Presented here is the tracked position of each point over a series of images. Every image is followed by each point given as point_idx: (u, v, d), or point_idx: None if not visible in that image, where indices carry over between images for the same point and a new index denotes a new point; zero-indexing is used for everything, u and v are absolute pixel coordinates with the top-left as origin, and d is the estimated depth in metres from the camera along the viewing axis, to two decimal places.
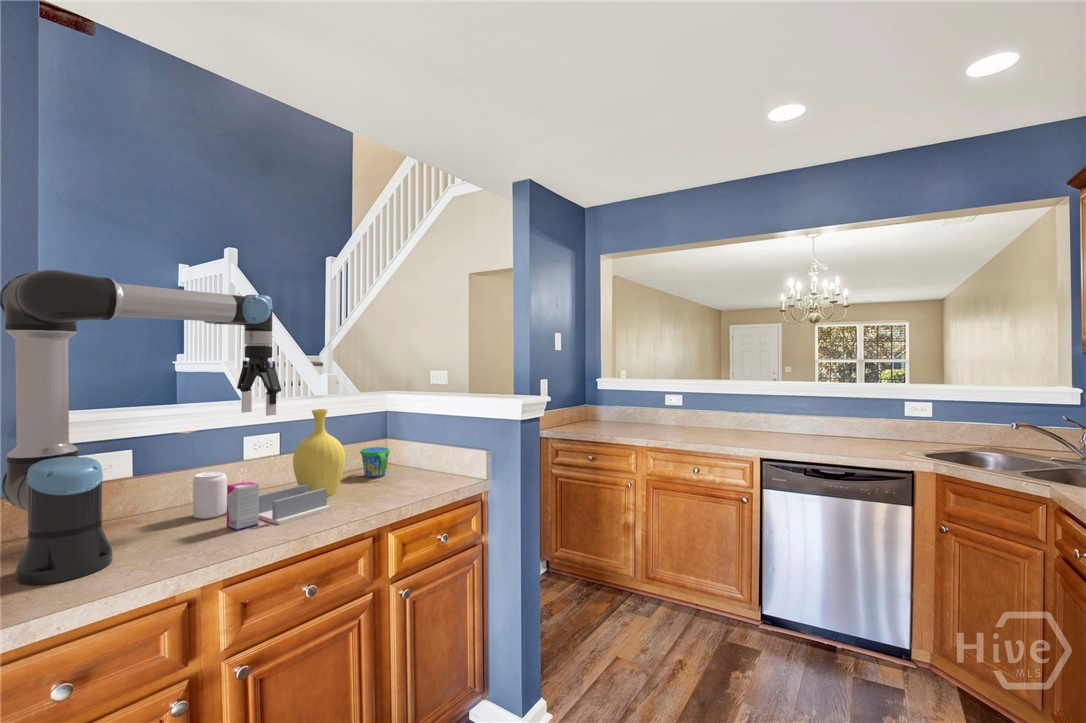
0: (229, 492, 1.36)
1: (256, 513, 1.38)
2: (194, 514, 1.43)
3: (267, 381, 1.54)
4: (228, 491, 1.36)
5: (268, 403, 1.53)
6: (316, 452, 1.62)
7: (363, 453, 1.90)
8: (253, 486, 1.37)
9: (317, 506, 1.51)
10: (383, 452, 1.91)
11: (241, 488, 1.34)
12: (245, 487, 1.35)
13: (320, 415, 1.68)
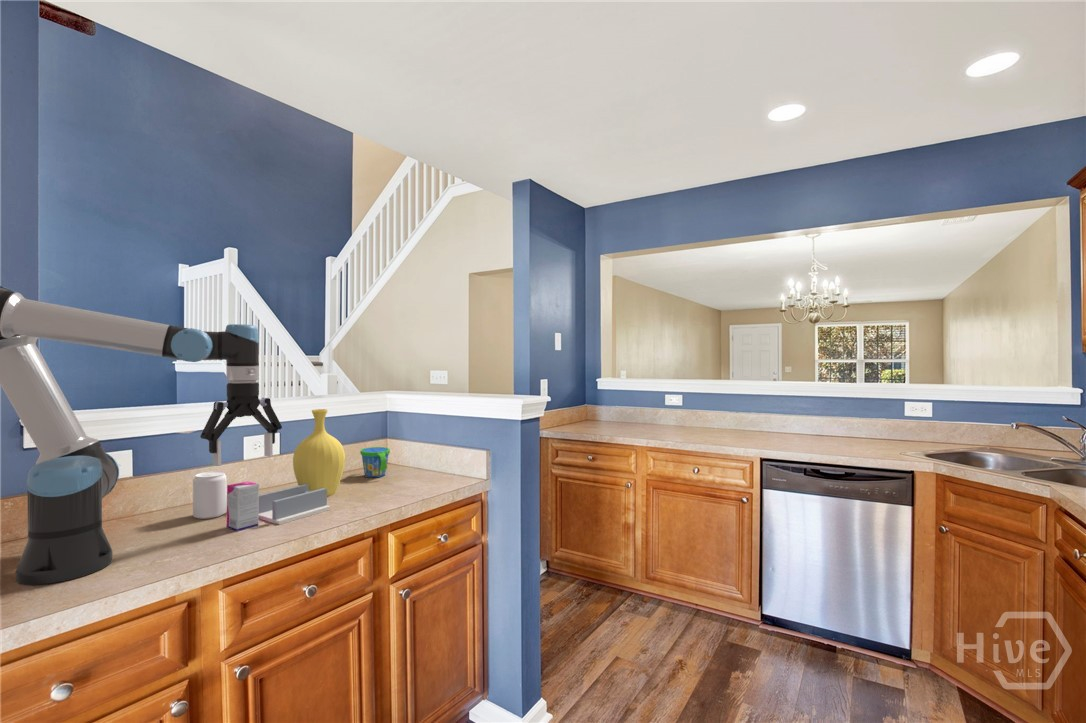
0: (229, 492, 1.36)
1: (256, 513, 1.38)
2: (194, 514, 1.43)
3: (218, 425, 1.32)
4: (228, 491, 1.36)
5: None
6: (316, 452, 1.62)
7: (363, 453, 1.90)
8: (253, 486, 1.37)
9: (317, 506, 1.51)
10: (383, 452, 1.91)
11: (241, 488, 1.34)
12: (245, 487, 1.35)
13: (320, 415, 1.68)
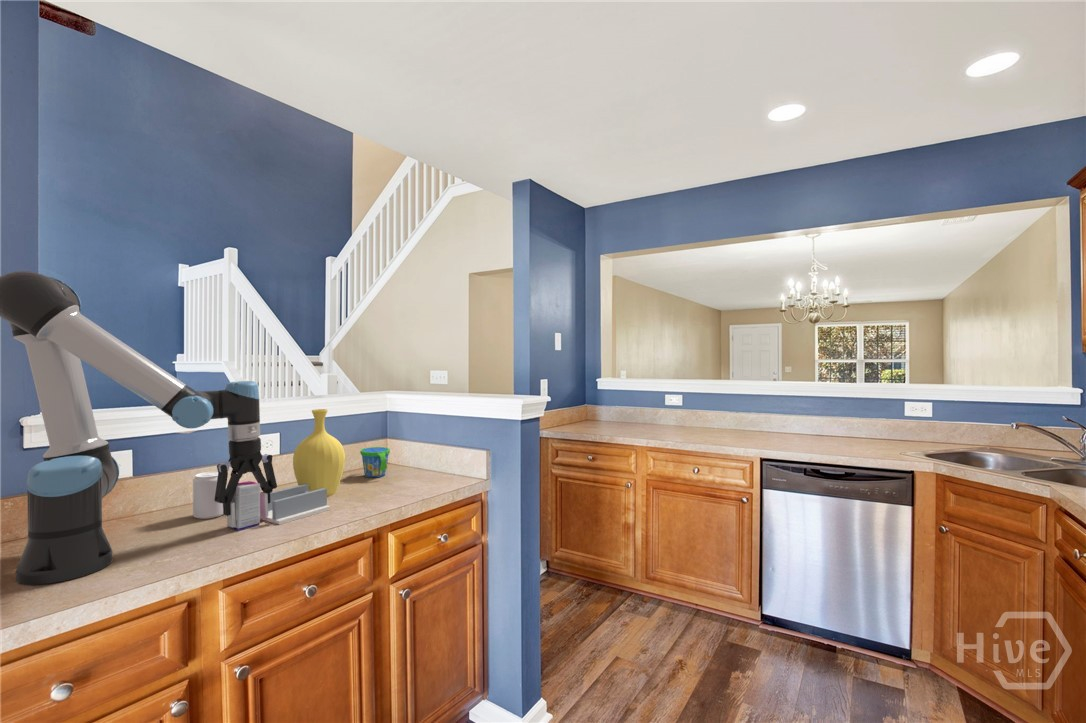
0: None
1: (257, 512, 1.38)
2: (194, 514, 1.43)
3: (228, 486, 1.34)
4: None
5: None
6: (316, 452, 1.62)
7: (363, 453, 1.90)
8: (254, 486, 1.37)
9: (317, 506, 1.51)
10: (383, 452, 1.91)
11: (243, 487, 1.35)
12: (246, 487, 1.35)
13: (320, 415, 1.68)
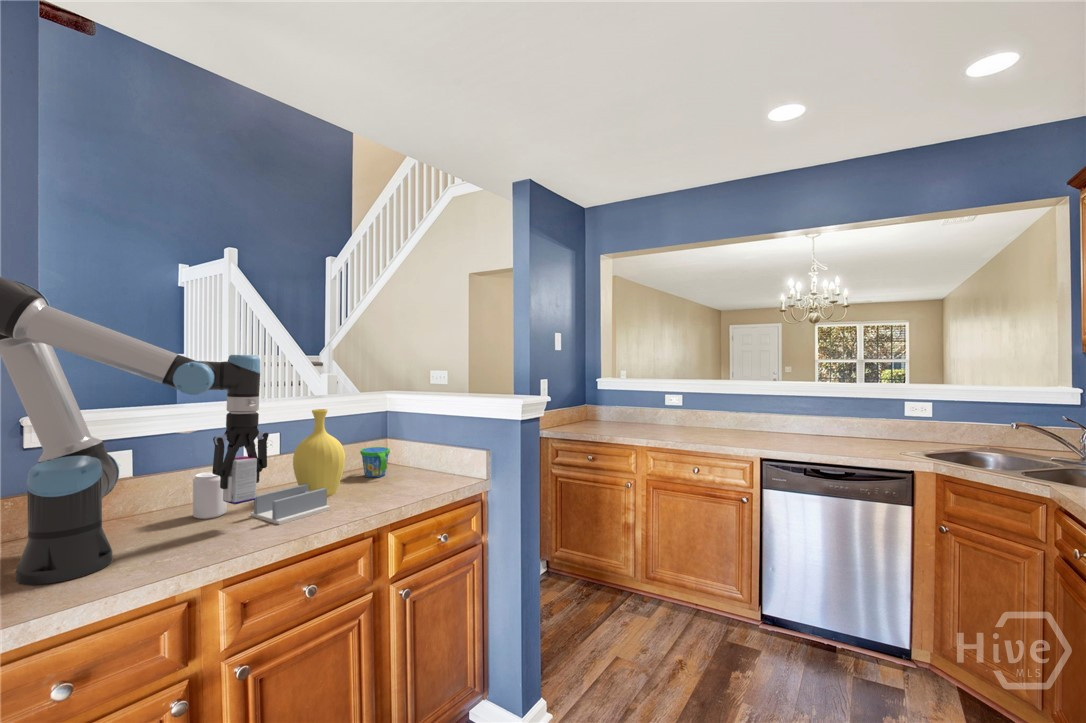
0: None
1: (253, 487, 1.37)
2: (194, 514, 1.43)
3: (225, 459, 1.34)
4: None
5: None
6: (316, 452, 1.62)
7: (363, 453, 1.90)
8: (251, 460, 1.37)
9: (317, 506, 1.51)
10: (383, 452, 1.91)
11: (239, 461, 1.34)
12: (243, 461, 1.35)
13: (321, 415, 1.68)
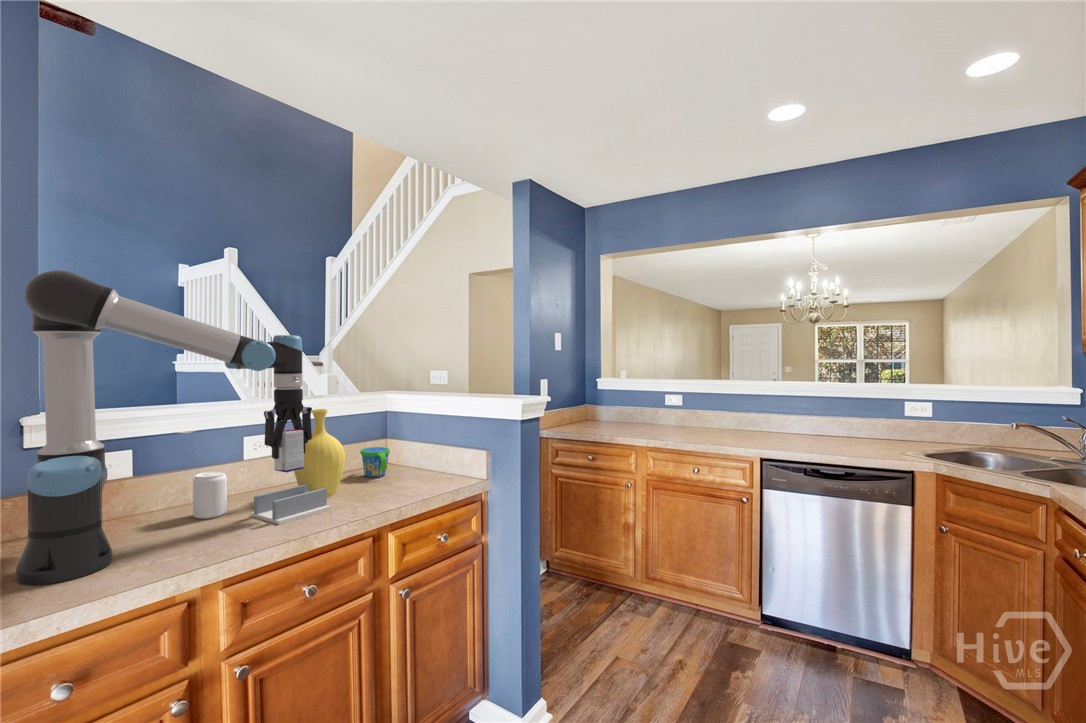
0: None
1: (301, 457, 1.49)
2: (194, 514, 1.43)
3: (275, 432, 1.45)
4: None
5: None
6: (316, 452, 1.62)
7: (363, 453, 1.90)
8: (298, 432, 1.48)
9: (317, 506, 1.51)
10: (383, 452, 1.91)
11: (288, 433, 1.45)
12: (291, 432, 1.46)
13: (321, 415, 1.68)
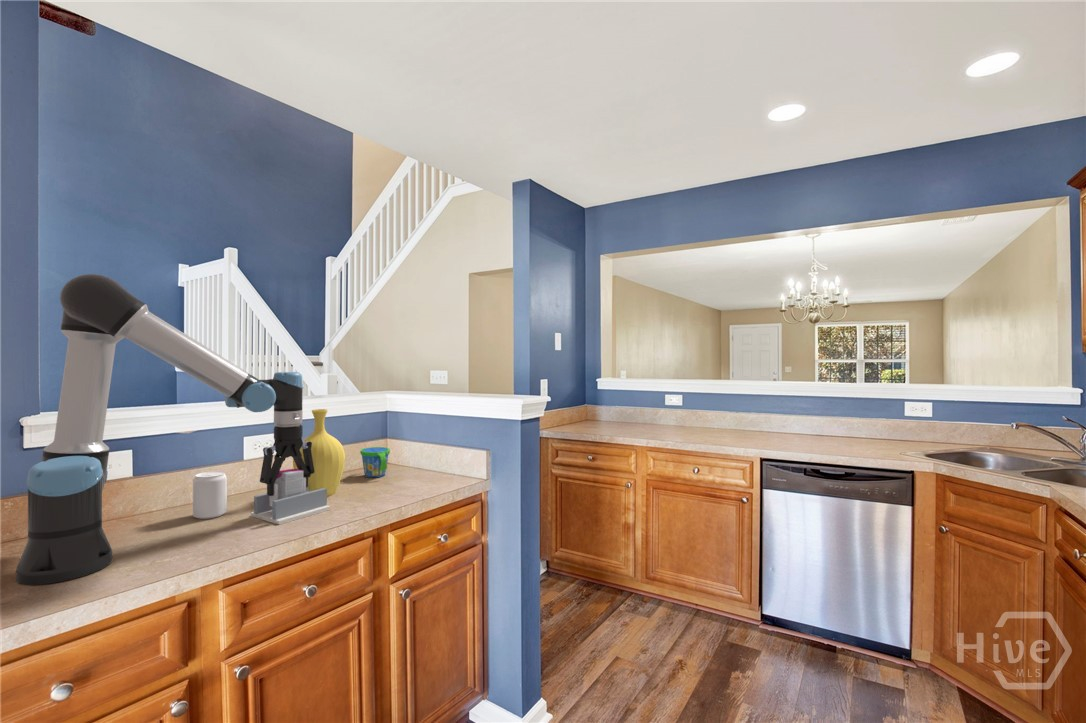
0: None
1: None
2: (194, 514, 1.43)
3: (272, 468, 1.45)
4: None
5: None
6: (316, 452, 1.62)
7: (363, 453, 1.90)
8: (298, 472, 1.48)
9: (317, 506, 1.51)
10: (383, 452, 1.91)
11: (288, 474, 1.46)
12: (292, 473, 1.47)
13: (320, 415, 1.68)
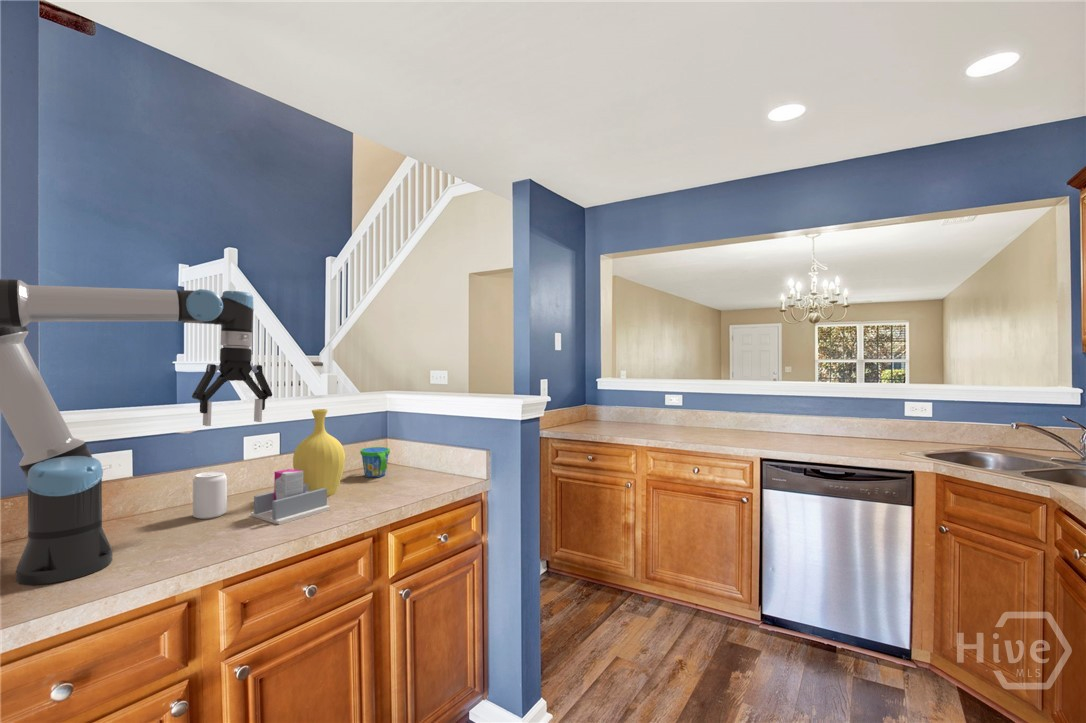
0: (276, 478, 1.47)
1: None
2: (194, 514, 1.43)
3: (210, 386, 1.37)
4: (275, 477, 1.47)
5: None
6: (316, 452, 1.62)
7: (363, 453, 1.90)
8: (298, 472, 1.48)
9: (317, 506, 1.51)
10: (383, 452, 1.91)
11: (288, 474, 1.46)
12: (291, 473, 1.46)
13: (320, 415, 1.68)
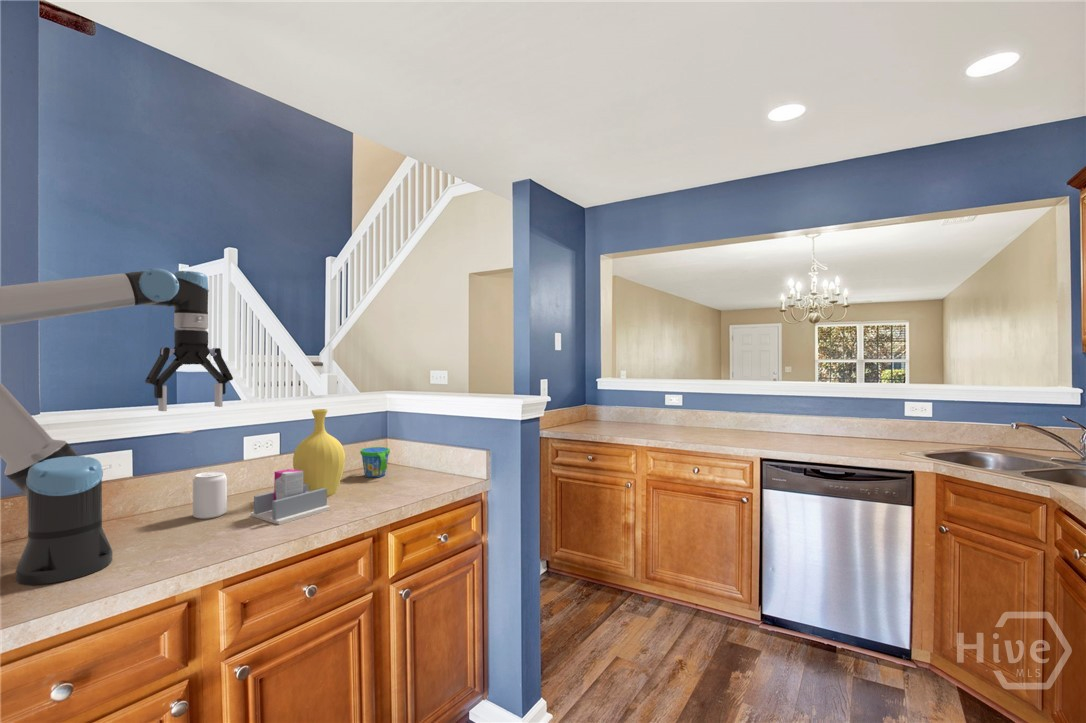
0: (276, 478, 1.47)
1: None
2: (194, 514, 1.43)
3: (165, 371, 1.32)
4: (275, 477, 1.47)
5: None
6: (316, 452, 1.62)
7: (363, 453, 1.90)
8: (298, 472, 1.48)
9: (317, 506, 1.51)
10: (383, 452, 1.91)
11: (288, 474, 1.46)
12: (291, 473, 1.46)
13: (320, 415, 1.68)
